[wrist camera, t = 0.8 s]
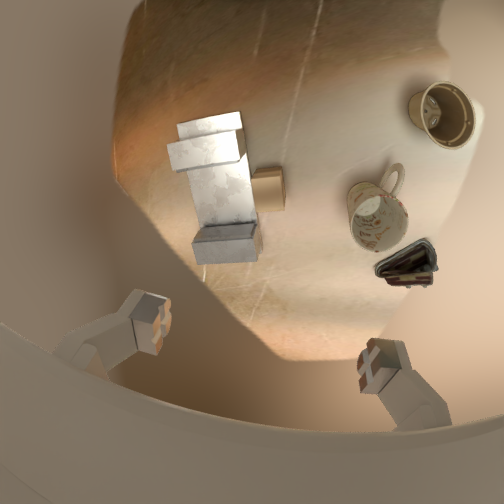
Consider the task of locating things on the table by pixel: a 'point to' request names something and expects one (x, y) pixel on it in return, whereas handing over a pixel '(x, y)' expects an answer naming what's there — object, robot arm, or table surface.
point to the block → (268, 189)
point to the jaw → (227, 244)
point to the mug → (377, 214)
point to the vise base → (216, 170)
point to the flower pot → (444, 114)
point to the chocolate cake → (410, 266)
